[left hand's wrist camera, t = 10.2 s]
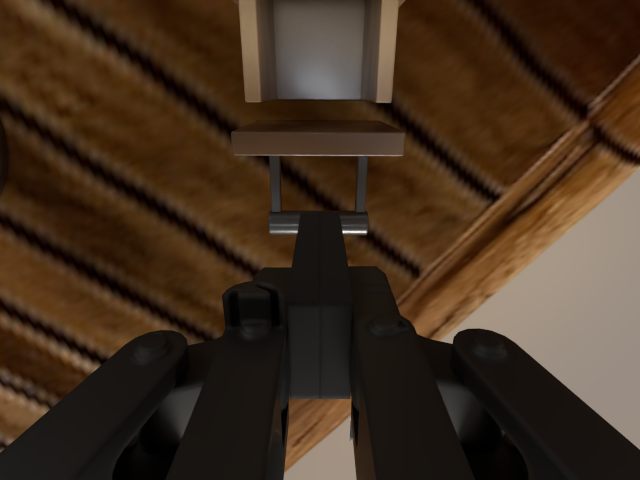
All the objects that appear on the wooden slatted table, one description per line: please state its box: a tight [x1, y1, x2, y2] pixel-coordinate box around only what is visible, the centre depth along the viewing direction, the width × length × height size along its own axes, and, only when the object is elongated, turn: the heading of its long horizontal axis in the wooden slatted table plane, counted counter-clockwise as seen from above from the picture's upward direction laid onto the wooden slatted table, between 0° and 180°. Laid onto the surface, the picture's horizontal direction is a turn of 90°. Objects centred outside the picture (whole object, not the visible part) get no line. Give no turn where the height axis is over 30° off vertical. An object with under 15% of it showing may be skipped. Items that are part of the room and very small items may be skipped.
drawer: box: [231, 0, 406, 235], centre depth 21 cm, size 22×9×9 cm, turn 0°
